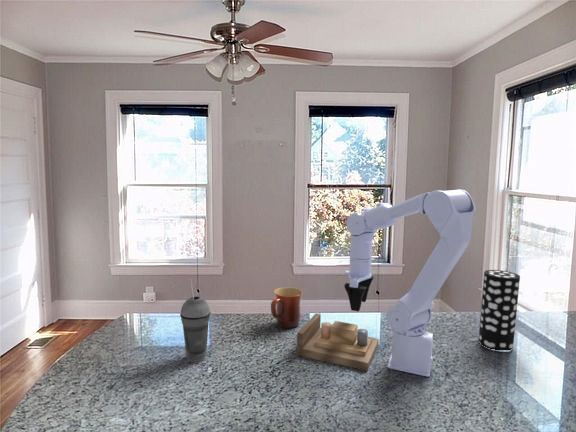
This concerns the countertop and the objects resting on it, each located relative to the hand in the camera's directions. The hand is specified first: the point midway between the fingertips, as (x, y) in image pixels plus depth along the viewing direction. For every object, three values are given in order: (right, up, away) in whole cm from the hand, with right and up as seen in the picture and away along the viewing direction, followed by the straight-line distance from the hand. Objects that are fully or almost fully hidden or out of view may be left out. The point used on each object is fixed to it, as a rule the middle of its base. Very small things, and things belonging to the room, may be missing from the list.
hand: (358, 305), depth 104 cm
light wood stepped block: (-6, -11, -5) cm, 13 cm away
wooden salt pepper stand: (-5, -9, -6) cm, 11 cm away
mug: (-20, -9, +10) cm, 24 cm away
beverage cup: (-42, -11, -10) cm, 45 cm away
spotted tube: (+37, -11, -1) cm, 39 cm away
